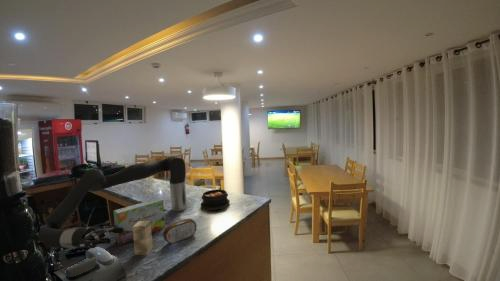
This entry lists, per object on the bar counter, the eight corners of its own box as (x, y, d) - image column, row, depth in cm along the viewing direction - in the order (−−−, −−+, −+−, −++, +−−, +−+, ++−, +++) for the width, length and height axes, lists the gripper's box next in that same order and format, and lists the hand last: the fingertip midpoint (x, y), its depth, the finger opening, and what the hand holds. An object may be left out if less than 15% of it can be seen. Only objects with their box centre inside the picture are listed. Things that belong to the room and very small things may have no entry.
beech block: (135, 255, 88) (132, 226, 88) (141, 248, 93) (138, 221, 93) (147, 254, 88) (144, 226, 88) (152, 247, 93) (150, 220, 93)
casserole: (233, 210, 130) (232, 196, 130) (201, 215, 126) (200, 201, 125) (226, 197, 154) (226, 185, 154) (200, 201, 150) (199, 189, 149)
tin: (195, 232, 105) (194, 215, 104) (198, 235, 103) (197, 217, 102) (163, 244, 95) (162, 226, 95) (165, 247, 93) (164, 228, 92)
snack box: (120, 246, 96) (116, 213, 95) (115, 241, 100) (112, 210, 99) (165, 227, 112) (163, 199, 111) (160, 224, 116) (158, 197, 115)
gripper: (91, 237, 97) (127, 235, 97) (64, 256, 83) (106, 253, 83) (89, 220, 97) (125, 219, 97) (62, 237, 82) (104, 234, 83)
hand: (116, 235), depth 90 cm, fingers open, 8 cm apart
